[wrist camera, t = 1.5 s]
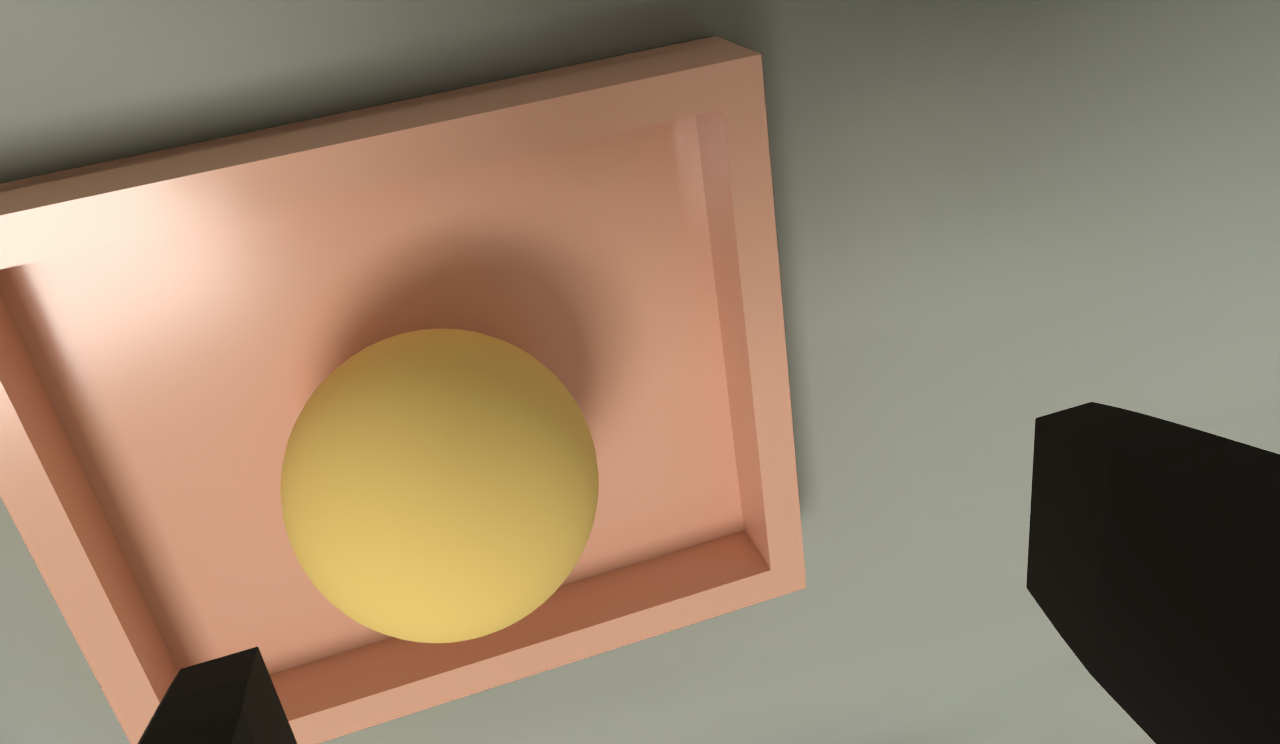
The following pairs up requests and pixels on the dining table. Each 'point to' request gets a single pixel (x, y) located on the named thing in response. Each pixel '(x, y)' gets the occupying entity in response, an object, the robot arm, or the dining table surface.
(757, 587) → the dish
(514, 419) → the ball
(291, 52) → the dining table surface
